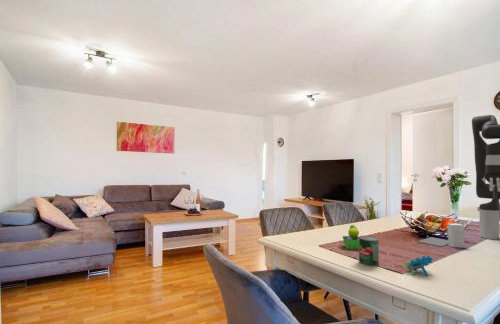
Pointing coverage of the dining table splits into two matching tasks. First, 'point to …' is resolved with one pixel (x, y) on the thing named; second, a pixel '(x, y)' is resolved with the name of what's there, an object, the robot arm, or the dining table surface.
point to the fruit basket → (352, 238)
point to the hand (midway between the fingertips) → (495, 198)
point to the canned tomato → (369, 250)
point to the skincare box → (456, 235)
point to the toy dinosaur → (419, 264)
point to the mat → (434, 241)
